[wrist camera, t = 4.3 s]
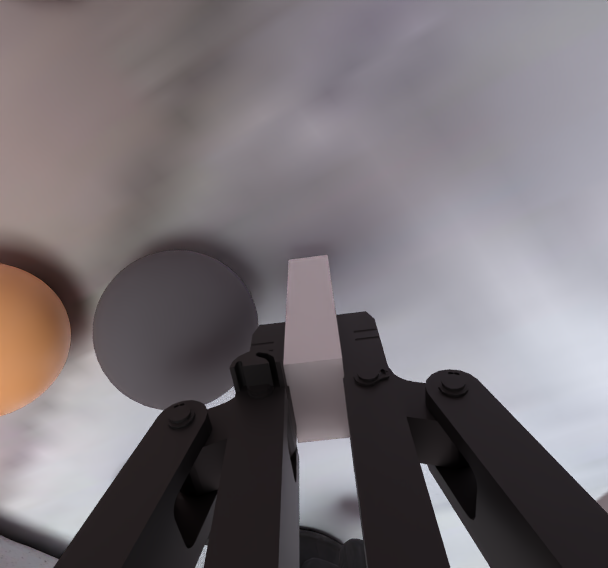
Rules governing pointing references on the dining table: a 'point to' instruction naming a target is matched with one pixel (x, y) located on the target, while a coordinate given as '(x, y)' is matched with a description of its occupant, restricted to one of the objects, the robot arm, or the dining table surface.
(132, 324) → the dark gray ball
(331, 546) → the milk frother
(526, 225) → the dining table surface
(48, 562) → the ceramic mug
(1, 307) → the terracotta ball
